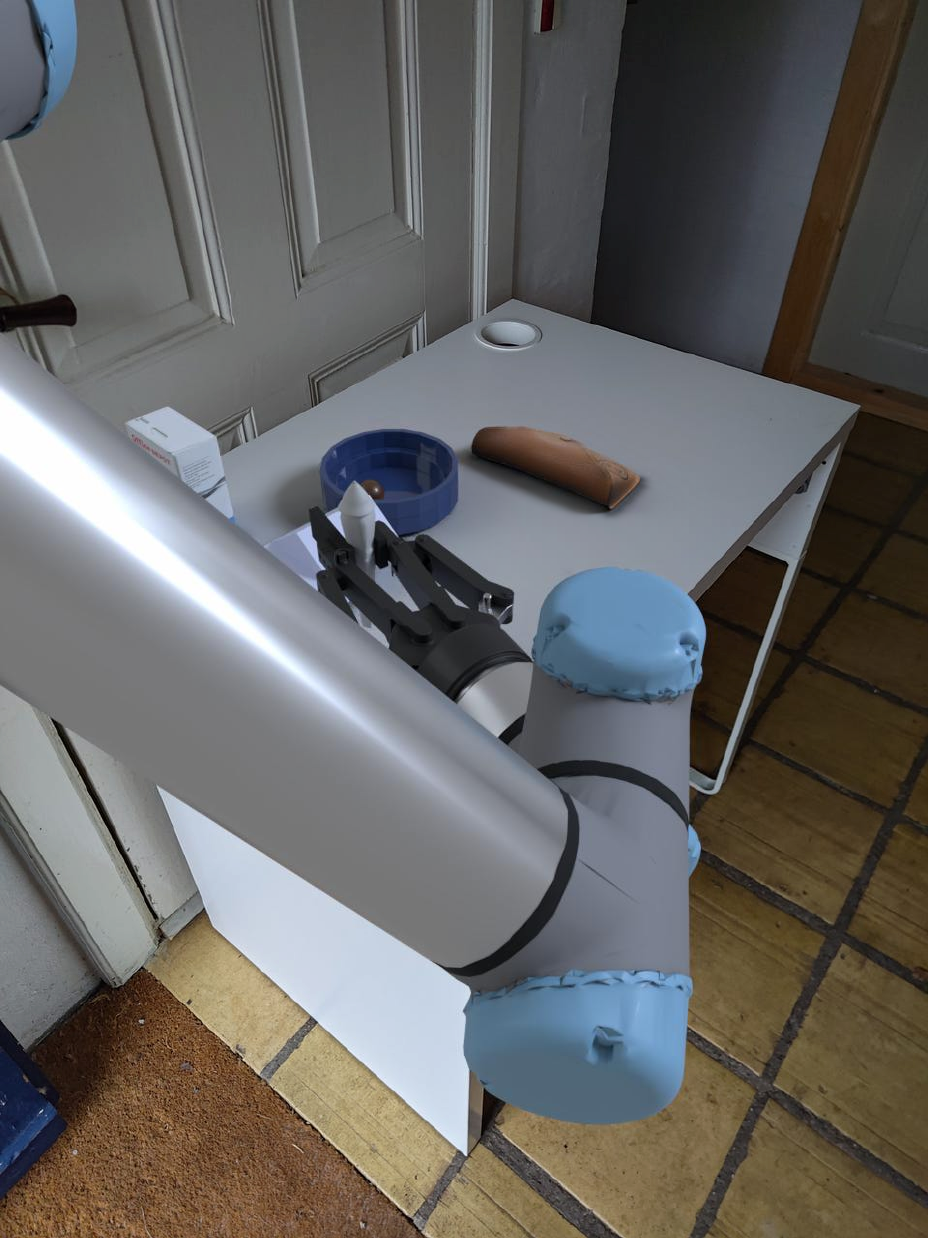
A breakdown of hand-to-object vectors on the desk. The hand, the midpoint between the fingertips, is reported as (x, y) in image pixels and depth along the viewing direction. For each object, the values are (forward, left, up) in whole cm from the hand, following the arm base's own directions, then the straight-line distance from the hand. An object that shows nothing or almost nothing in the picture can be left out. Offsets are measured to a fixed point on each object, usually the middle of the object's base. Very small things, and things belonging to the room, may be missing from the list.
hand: (330, 516), depth 69 cm
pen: (+3, -5, -8) cm, 9 cm away
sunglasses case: (+21, +26, -12) cm, 36 cm away
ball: (+1, +18, -10) cm, 21 cm away
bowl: (+3, +20, -12) cm, 24 cm away
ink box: (-17, +15, -12) cm, 26 cm away
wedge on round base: (-3, +7, -13) cm, 14 cm away
